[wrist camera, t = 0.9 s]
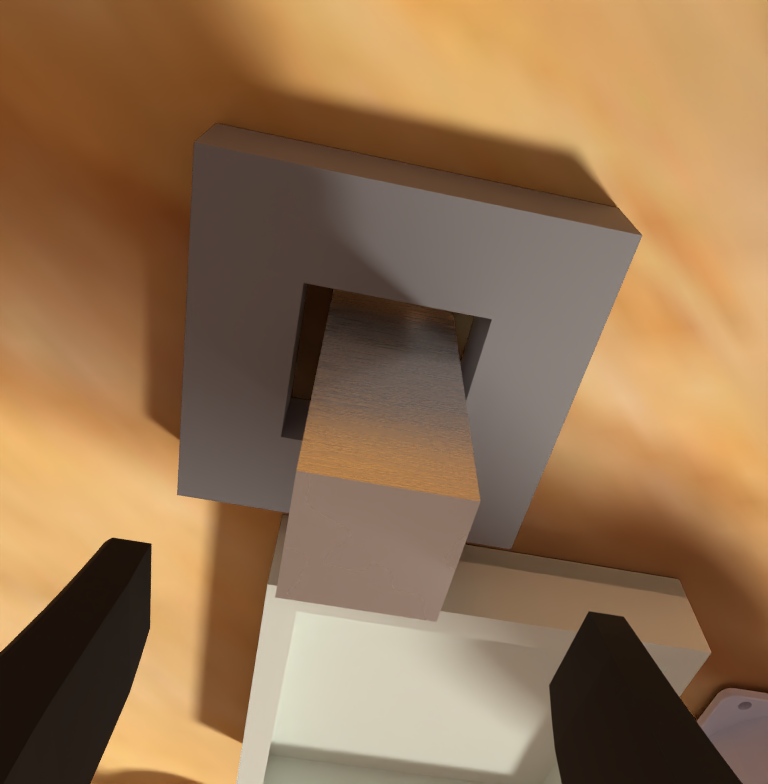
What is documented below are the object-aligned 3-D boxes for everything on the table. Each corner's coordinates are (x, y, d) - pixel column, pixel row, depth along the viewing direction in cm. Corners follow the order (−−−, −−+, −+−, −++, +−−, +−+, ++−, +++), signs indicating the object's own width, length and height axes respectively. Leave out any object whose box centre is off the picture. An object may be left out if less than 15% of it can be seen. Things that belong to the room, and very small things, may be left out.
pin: (451, 303, 19) (480, 501, 12) (424, 400, 20) (436, 622, 13) (335, 281, 18) (296, 471, 11) (317, 381, 20) (275, 597, 13)
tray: (678, 579, 24) (711, 652, 21) (549, 786, 31) (562, 859, 29) (282, 514, 23) (267, 584, 20) (245, 746, 30) (231, 818, 28)
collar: (618, 207, 17) (642, 235, 15) (502, 504, 22) (510, 549, 21) (215, 123, 16) (194, 141, 14) (195, 452, 21) (177, 494, 20)
